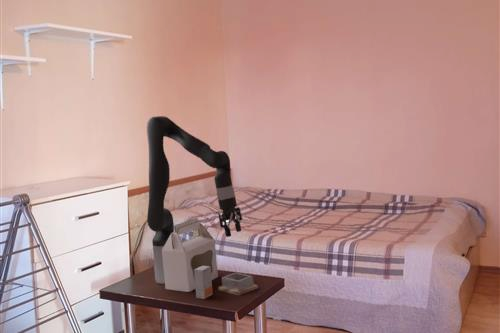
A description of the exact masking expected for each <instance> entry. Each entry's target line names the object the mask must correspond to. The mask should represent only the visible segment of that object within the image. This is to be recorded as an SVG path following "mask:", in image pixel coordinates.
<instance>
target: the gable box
mask: <svg viewBox="0 0 500 333" xmlns="http://www.w3.org/2000/svg"><path fill="white" fill-rule="evenodd" d="M201 222H202V220H199V218H197V217H195V218H192V219H190V220H187V221H184V222H180V223H178V224H175V225H174V232H173V233H171V235H170V236H169V238H168V240H167V242H166V244H165V245H164V247H163V249H162V259H163V269H164V279H165V284H164V288H165V290H170V291H176V292H178V291H179V292H186V293H190V292H192V291H194V290H196V287H195V274H194V269H197V268H198V267H201V266H210V267H211V279H212V281H213V280H215V279H217V278H218V277H219V274H218V272H219V271H218V262H217V250H216V240H215V239H214V237H213V236H212V234H210V232H209V231H208V230H207V228H206V227H205V226H204V225H203V223H201ZM191 231H193V235H192V237H191V238H189V239H186V240H184V241H182V240H181V238H180V235H183V234H186V233H188V232H191Z"/></svg>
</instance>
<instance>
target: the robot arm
mask: <svg viewBox="0 0 500 333" xmlns="http://www.w3.org/2000/svg"><path fill="white" fill-rule="evenodd" d="M146 136H147V144H148V208H147V216H146V218H147V219H146V223H147V226H148V227H149V229H150V230H151V231H153V232H155V233H154V236H153V238H152V240H151V242H152V251H153V259H154V260H153V268H154V280H155V282H156V283H157V284H163V285H165V279H164V269H163V259H162V249H163V247H164V245H165V244H166V242H167V240H168V238H169V236H170V235H171V233H173V232H175V225H174V217H173V214H172V212H171V211H170V210H169V209H168V208H165V198H166V197H165V196H166V195H167V191H168V188H169V184H170V180H171V179H170V177H171V176H170V173H171V172H170V163H169V160H168V158H167V156H166V153H165V149H164V137H166V138H168V139H171V140H173V141H175V142H177V143H178V144H179V145H180V146H182V148H184V150H186V151H187V152H188V153H190V154H191V155H193V156H195V157H196V158H199V159H200V160H201V161H203V162H204V163H205V164H206V165H207V166H209V167H210V168H212V169H215V170H216V174H215V175H214V184H215V190H216V197H217V201H218V206H219V209H220V210H221V211H222V212H221V213H218V220H219V225H220V228H221V229H224V233H225V237H227V238H229V237H231V236H232V232H231V228H230V225H231V223H232V221H233V222H234V226H235V227H234V228H235V231H236V233H237V232H238V233H239V232H242V227H241V221H243V216H242V212H241V208H240V207H239V206H238V203H237V199H236V194H235V190H234V187H233V182H232V178H231V159H230V157H229V154H228V153H227V152H226V151H225V150H219V151H216V150H214V149H212V148H211V146H210V145H209V144H208V143H207V142H205V141H203V140H201V139H200V138H197V137H196V136H194V135H192V134H190V133H189V132H187V131H186V130H185V129H183V128H182V127H180V126H179V125H178V124H176V123H175V122H174V121H173V120H172V119H170V118H169V117H167V116H163V115H157V116H152V117H150V118H149V119H148V120H147V122H146Z"/></svg>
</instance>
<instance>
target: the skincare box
mask: <svg viewBox="0 0 500 333" xmlns="http://www.w3.org/2000/svg"><path fill="white" fill-rule="evenodd" d="M194 274H195V287H196V289H195V295H196V296H195V297H196V299H202V300H205V299H207V298H208V297H210V296H213V283H212V282H213V280H212V279H211V267H210V266H201V267H198V268H197V269H194Z"/></svg>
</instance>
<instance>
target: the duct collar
mask: <svg viewBox="0 0 500 333" xmlns="http://www.w3.org/2000/svg"><path fill="white" fill-rule="evenodd" d="M254 284H255V283H254V276H253V275H249V274H244V273H240V272H238V271H236V272H233V273H231V274H227V275H225V276H221V286H222V287H225V288H229V289H233V290H236V291H241V290H243V289H246V288H249V287H251V286H254Z"/></svg>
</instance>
